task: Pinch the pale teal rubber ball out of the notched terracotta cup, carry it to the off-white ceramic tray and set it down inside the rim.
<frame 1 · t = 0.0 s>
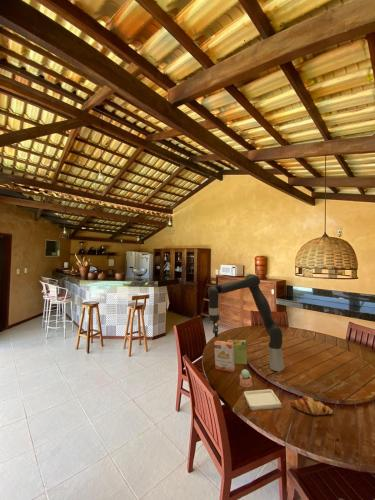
hand: (215, 335, 171), 29 cm above the table, fingers open, 8 cm apart
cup: (245, 383, 157), on the table
croissant: (311, 411, 128), on the table
tray: (261, 401, 138), on the table
cracker box: (225, 369, 178), on the table
protein box: (237, 361, 190), on the table
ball: (245, 373, 157), point 7 cm above the table, touching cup
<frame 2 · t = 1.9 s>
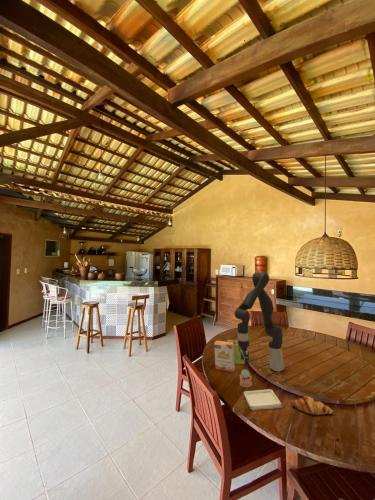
hand: (244, 362, 157), 15 cm above the table, fingers open, 8 cm apart
nothing on the table moved.
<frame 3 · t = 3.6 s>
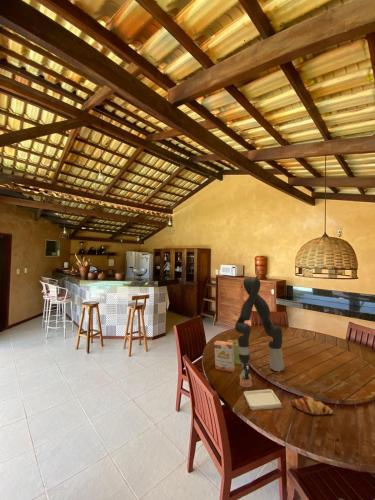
hand: (245, 376, 157), 5 cm above the table, fingers closed on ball, 5 cm apart
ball: (245, 373, 157), point 7 cm above the table, touching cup, gripper
everything else where it was.
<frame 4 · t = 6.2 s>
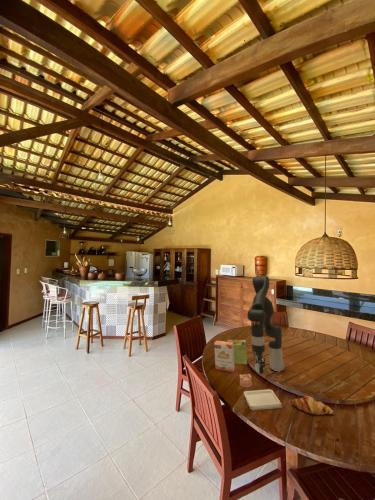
hand: (259, 370, 138), 18 cm above the table, fingers closed on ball, 5 cm apart
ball: (259, 367, 138), point 20 cm above the table, touching gripper
everything else where it was.
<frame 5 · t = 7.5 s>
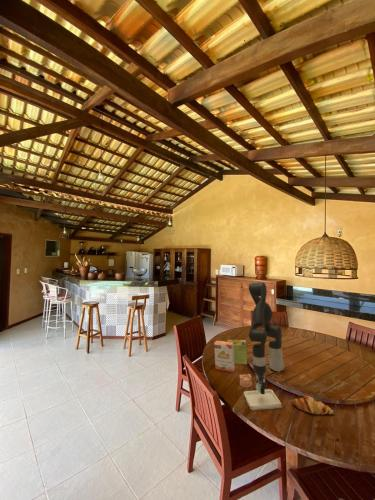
hand: (260, 390, 138), 6 cm above the table, fingers closed on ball, 5 cm apart
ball: (260, 387, 138), point 8 cm above the table, touching gripper
everything else where it was.
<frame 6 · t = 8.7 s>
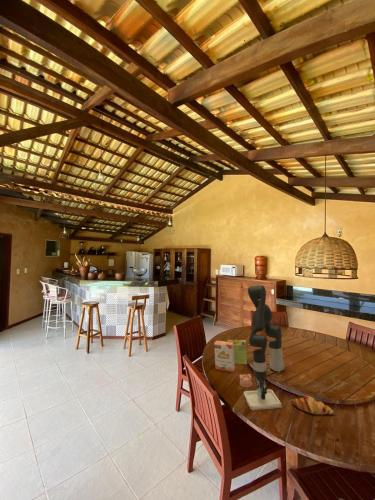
hand: (261, 396, 138), 3 cm above the table, fingers closed on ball, 5 cm apart
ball: (261, 392, 138), point 5 cm above the table, touching gripper
everything else where it was.
when the fingers open (3 cm above the table, at t = 8.8 s): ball drops 1 cm, resting on tray.
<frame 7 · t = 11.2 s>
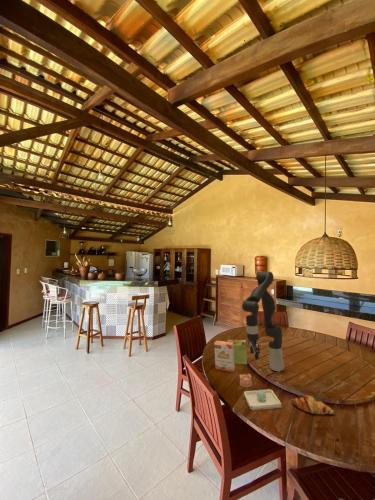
hand: (254, 356, 150), 22 cm above the table, fingers open, 8 cm apart
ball: (261, 395, 138), point 4 cm above the table, touching tray
everything else where it was.
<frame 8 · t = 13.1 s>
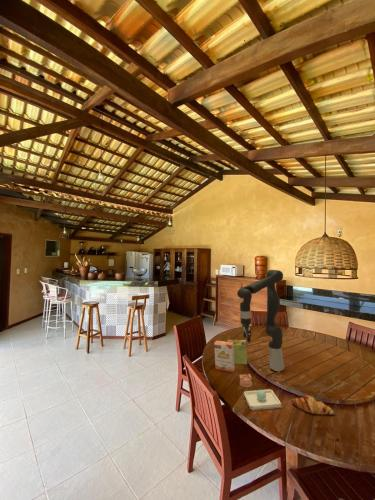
hand: (247, 339, 162), 28 cm above the table, fingers open, 8 cm apart
at the end: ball inside the target area on the tray (0.1 cm from its centre), point 3.7 cm above the tray's base; the gripper is holding nothing; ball touching tray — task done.
